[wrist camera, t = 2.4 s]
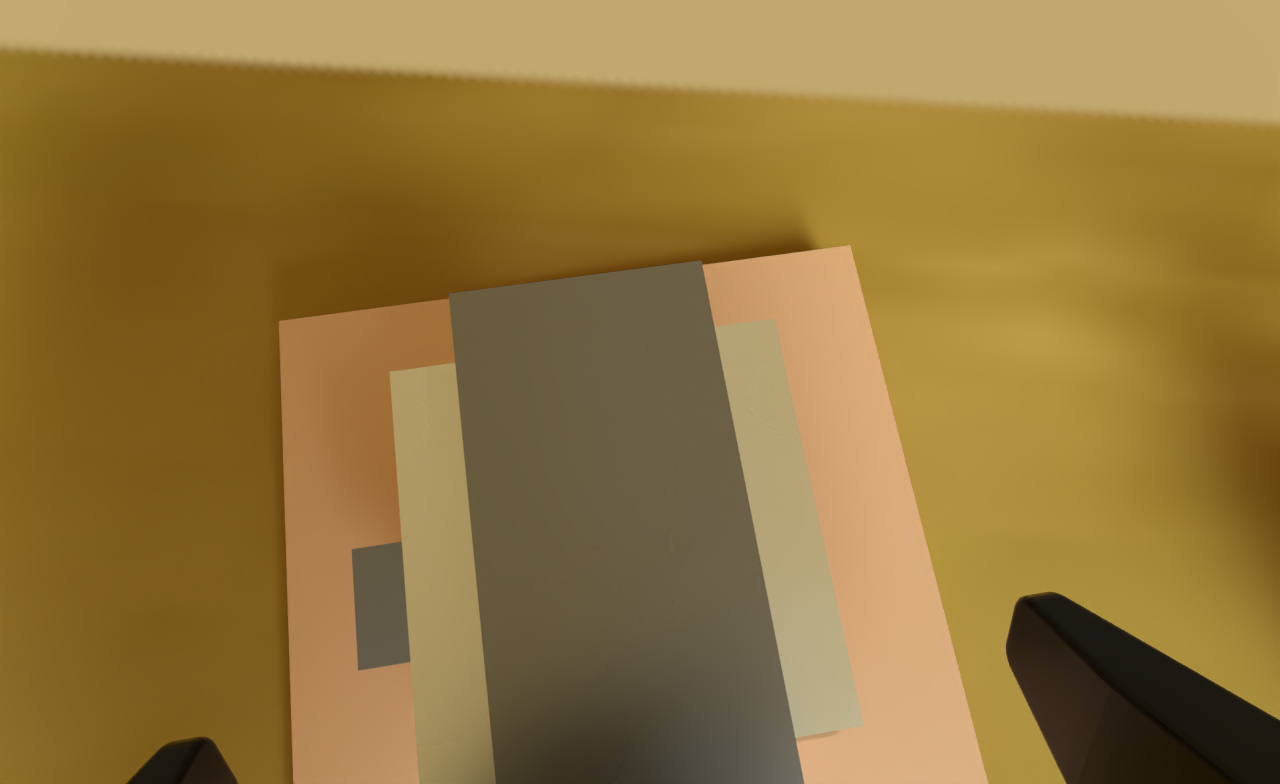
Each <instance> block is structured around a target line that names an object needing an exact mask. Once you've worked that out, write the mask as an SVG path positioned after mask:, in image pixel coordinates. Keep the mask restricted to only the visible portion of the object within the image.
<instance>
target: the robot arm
mask: <svg viewBox="0 0 1280 784" xmlns="http://www.w3.org/2000/svg"><path fill="white" fill-rule="evenodd" d="M1006 654H1007V659H1008V662H1009V665H1010V667H1011V670H1012V672H1013V674H1014V676H1015V678H1016V680H1017V682H1018V684H1019V686H1020V688H1021V691H1022V693H1023V695H1024V697H1025V699H1026V701H1027V703H1028V705H1029V707H1030V709H1031V711H1032V713H1033V716H1034V718H1035V720H1036V722H1037V724H1038V726H1039V728H1040V730H1041V732H1042V734H1043V736H1044V739H1045V741H1046V743H1047V745H1048V747H1049V749H1050V751H1051V753H1052V755H1053V757H1054V759H1055V761H1056V764H1057V766H1058V768H1059V770H1060V772H1061V774H1062V776H1063V778H1064V780H1065V782H1066V784H1280V720H1278V719H1277V718H1275V717H1273V716H1271V715H1270V714H1268V713H1266V712H1265V711H1263V710H1261V709H1259V708H1258V707H1256V706H1254V705H1252V704H1251V703H1249V702H1247V701H1245V700H1244V699H1242V698H1240V697H1238V696H1237V695H1235V694H1233V693H1232V692H1230V691H1228V690H1226V689H1225V688H1223V687H1221V686H1219V685H1218V684H1216V683H1214V682H1212V681H1211V680H1209V679H1207V678H1206V677H1204V676H1202V675H1200V674H1199V673H1197V672H1195V671H1193V670H1192V669H1190V668H1188V667H1186V666H1185V665H1183V664H1181V663H1179V662H1178V661H1176V660H1174V659H1173V658H1171V657H1169V656H1167V655H1166V654H1164V653H1162V652H1160V651H1159V650H1157V649H1155V648H1153V647H1152V646H1150V645H1148V644H1146V643H1145V642H1143V641H1141V640H1140V639H1138V638H1136V637H1134V636H1133V635H1131V634H1129V633H1127V632H1126V631H1124V630H1122V629H1120V628H1119V627H1117V626H1115V625H1114V624H1112V623H1110V622H1108V621H1107V620H1105V619H1103V618H1101V617H1100V616H1098V615H1096V614H1094V613H1093V612H1091V611H1089V610H1087V609H1086V608H1084V607H1082V606H1081V605H1079V604H1077V603H1075V602H1074V601H1072V600H1070V599H1068V598H1067V597H1065V596H1063V595H1061V594H1058V593H1055V592H1044V593H1038V594H1032V595H1027V596H1023V597H1020V598H1019V600H1018V601H1017V602H1016V604H1015V607H1014V611H1013V616H1012V620H1011V624H1010V629H1009V633H1008V637H1007V642H1006ZM126 784H238V783H237V780H236V778H235V776H234V775H233V773H232V771H231V770H230V768H229V766H228V765H227V763H226V761H225V759H224V758H223V756H222V754H221V753H220V751H219V749H218V748H217V746H216V744H215V743H214V742H213V740H211V739H209V738H207V737H196V738H190V739H184V740H178V741H174V742H170V743H168V744H166V745H164V746H163V747H162V748H160V749H159V750H158V751H157V752H156V753H155V754H154V755H153V756H152V757H151V758H150V759H149V760H148V761H147V762H146V763H145V764H144V765H143V766H142V767H141V768H140V770H139V771H138V772H137V773H136V774H135V775H134V776H133V777H132V778H131V779H130V780H129V781H128V782H127V783H126Z"/></svg>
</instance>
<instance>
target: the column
mask: <svg viewBox="0 0 1280 784" xmlns="http://www.w3.org/2000/svg"><path fill="white" fill-rule="evenodd" d="M449 304H450V315H451V325H452V335H453V346H454V356H455V363H449V364H442V365H435V366H428V367H421V368H413V369H406V370H399V371H392V372H390V385H391V399H392V413H393V427H394V441H395V454H396V468H397V482H398V496H399V510H400V524H401V538H402V551H403V565H404V579H405V593H406V607H407V621H408V635H409V648H410V662H411V676H412V690H413V704H414V718H415V732H416V746H417V759H418V773H419V784H804V779H803V774H802V769H801V764H800V758H799V753H798V748H797V743H796V738H797V737H803V736H808V735H814V734H820V733H825V732H831V731H836V730H842V729H847V728H853V727H858V726H864V723H863V718H862V714H861V709H860V705H859V700H858V696H857V691H856V687H855V682H854V677H853V673H852V668H851V664H850V659H849V655H848V650H847V646H846V641H845V637H844V632H843V628H842V623H841V618H840V614H839V609H838V605H837V600H836V596H835V591H834V587H833V582H832V578H831V573H830V569H829V564H828V559H827V555H826V550H825V546H824V541H823V537H822V532H821V528H820V523H819V519H818V514H817V509H816V505H815V500H814V496H813V491H812V487H811V482H810V478H809V473H808V469H807V464H806V460H805V455H804V450H803V446H802V441H801V437H800V432H799V428H798V423H797V419H796V414H795V410H794V405H793V401H792V396H791V391H790V387H789V382H788V378H787V373H786V369H785V364H784V360H783V355H782V351H781V346H780V342H779V337H778V332H777V328H776V323H775V319H767V320H759V321H752V322H745V323H738V324H731V325H723V326H716V327H714V322H713V316H712V311H711V306H710V301H709V296H708V291H707V286H706V281H705V276H704V271H703V266H702V261H701V260H700V261H692V262H684V263H677V264H669V265H662V266H654V267H647V268H639V269H631V270H624V271H616V272H609V273H601V274H593V275H586V276H578V277H571V278H563V279H556V280H548V281H540V282H533V283H525V284H518V285H510V286H503V287H495V288H487V289H480V290H472V291H465V292H457V293H449Z"/></svg>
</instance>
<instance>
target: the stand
mask: <svg viewBox="0 0 1280 784" xmlns="http://www.w3.org/2000/svg"><path fill="white" fill-rule="evenodd" d="M702 266H703V271H704V276H705V281H706V286H707V291H708V296H709V301H710V306H711V311H712V316H713V322H714V327H716V326H723V325H731V324H738V323H745V322H752V321H759V320H767V319H775V323H776V328H777V332H778V337H779V342H780V346H781V351H782V355H783V360H784V364H785V369H786V373H787V378H788V382H789V387H790V391H791V396H792V401H793V405H794V410H795V414H796V419H797V423H798V428H799V432H800V437H801V441H802V446H803V450H804V455H805V460H806V464H807V469H808V473H809V478H810V482H811V487H812V491H813V496H814V500H815V505H816V509H817V514H818V519H819V523H820V528H821V532H822V537H823V541H824V546H825V550H826V555H827V559H828V564H829V569H830V573H831V578H832V582H833V587H834V591H835V596H836V600H837V605H838V609H839V614H840V618H841V623H842V628H843V632H844V637H845V641H846V646H847V650H848V655H849V659H850V664H851V668H852V673H853V677H854V682H855V687H856V691H857V696H858V700H859V705H860V709H861V714H862V718H863V723H864V726H858V727H853V728H847V729H842V730H836V731H831V732H825V733H820V734H814V735H808V736H803V737H797V738H796V743H797V748H798V753H799V758H800V764H801V769H802V774H803V779H804V784H988V782H987V778H986V774H985V770H984V766H983V762H982V758H981V754H980V750H979V746H978V743H977V739H976V735H975V731H974V727H973V723H972V719H971V715H970V711H969V707H968V703H967V700H966V696H965V692H964V688H963V684H962V680H961V676H960V672H959V668H958V664H957V661H956V657H955V653H954V649H953V645H952V641H951V637H950V633H949V629H948V625H947V622H946V618H945V614H944V610H943V606H942V602H941V598H940V594H939V590H938V586H937V583H936V579H935V575H934V571H933V567H932V563H931V559H930V555H929V551H928V547H927V543H926V540H925V536H924V532H923V528H922V524H921V520H920V516H919V512H918V508H917V504H916V501H915V497H914V493H913V489H912V485H911V481H910V477H909V473H908V469H907V465H906V462H905V458H904V454H903V450H902V446H901V442H900V438H899V434H898V430H897V426H896V423H895V419H894V415H893V411H892V407H891V403H890V399H889V395H888V391H887V387H886V383H885V380H884V376H883V372H882V368H881V364H880V360H879V356H878V352H877V348H876V344H875V341H874V337H873V333H872V329H871V325H870V321H869V317H868V313H867V309H866V305H865V302H864V298H863V294H862V290H861V286H860V282H859V278H858V274H857V270H856V266H855V263H854V259H853V255H852V251H851V247H850V245H849V246H841V247H833V248H826V249H818V250H811V251H803V252H796V253H788V254H781V255H773V256H766V257H758V258H750V259H743V260H735V261H728V262H720V263H713V264H705V265H702ZM279 343H280V375H281V407H282V438H283V470H284V502H285V534H286V566H287V598H288V630H289V662H290V693H291V725H292V757H293V784H419V773H418V759H417V746H416V732H415V718H414V704H413V690H412V676H411V662H410V648H409V635H408V621H407V607H406V593H405V579H404V565H403V551H402V538H401V524H400V510H399V496H398V482H397V468H396V454H395V441H394V427H393V413H392V399H391V385H390V372H392V371H399V370H406V369H413V368H421V367H428V366H435V365H442V364H449V363H455V356H454V346H453V335H452V325H451V315H450V304H449V298H448V299H441V300H433V301H426V302H418V303H410V304H403V305H395V306H388V307H380V308H373V309H365V310H358V311H350V312H343V313H335V314H327V315H320V316H312V317H305V318H297V319H290V320H282V321H279Z"/></svg>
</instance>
